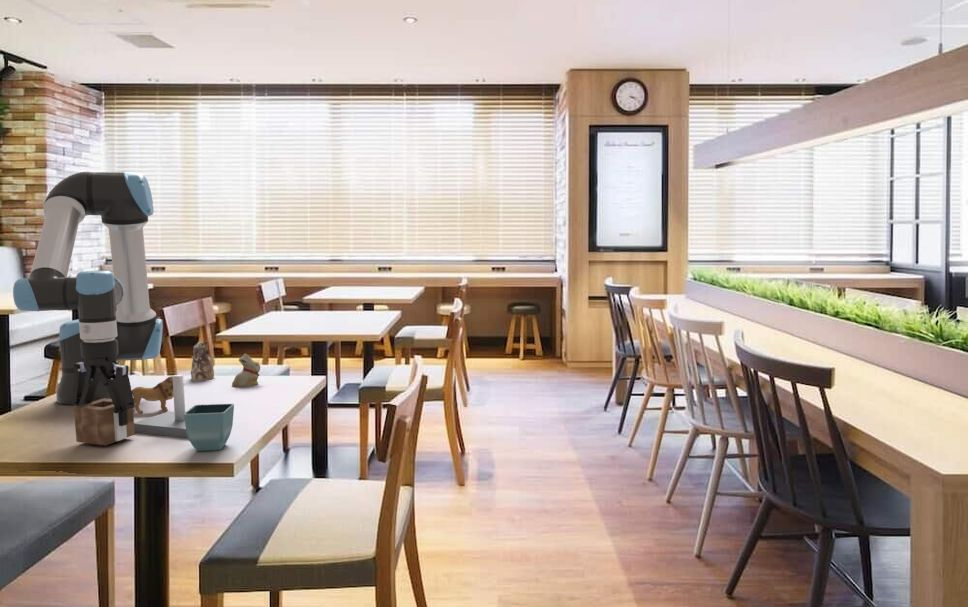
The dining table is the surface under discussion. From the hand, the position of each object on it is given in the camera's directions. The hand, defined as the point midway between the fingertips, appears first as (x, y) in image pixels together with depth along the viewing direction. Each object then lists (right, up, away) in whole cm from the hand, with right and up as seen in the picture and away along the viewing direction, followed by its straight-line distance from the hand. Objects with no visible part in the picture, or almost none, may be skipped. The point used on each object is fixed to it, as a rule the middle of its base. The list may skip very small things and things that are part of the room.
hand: (105, 437), depth 168 cm
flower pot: (+26, -2, -5) cm, 27 cm away
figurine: (-5, +6, +71) cm, 71 cm away
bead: (0, 0, 0) cm, 0 cm away
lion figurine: (-2, +2, +29) cm, 29 cm away
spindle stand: (+13, 0, +11) cm, 17 cm away
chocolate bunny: (+13, +5, +61) cm, 62 cm away
